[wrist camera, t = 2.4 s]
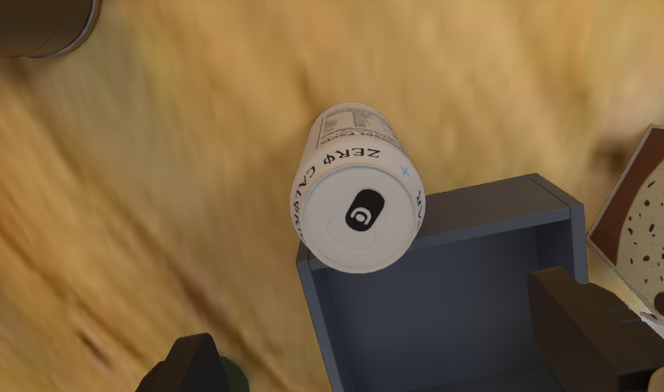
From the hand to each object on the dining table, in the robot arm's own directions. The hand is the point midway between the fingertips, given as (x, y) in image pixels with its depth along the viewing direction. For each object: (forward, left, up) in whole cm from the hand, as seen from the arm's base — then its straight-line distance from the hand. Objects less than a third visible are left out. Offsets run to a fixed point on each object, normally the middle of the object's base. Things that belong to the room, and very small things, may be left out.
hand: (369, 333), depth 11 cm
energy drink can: (0, 0, -23) cm, 23 cm away
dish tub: (+4, -14, -23) cm, 27 cm away
